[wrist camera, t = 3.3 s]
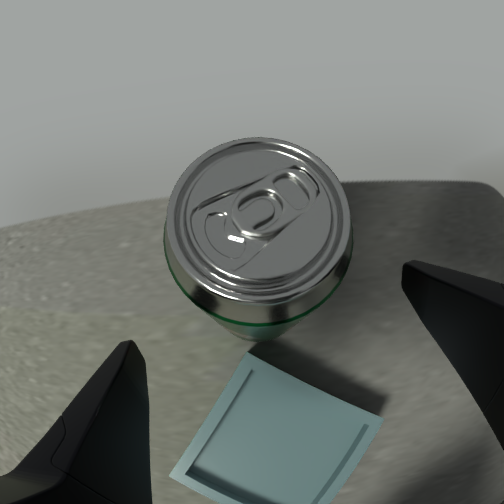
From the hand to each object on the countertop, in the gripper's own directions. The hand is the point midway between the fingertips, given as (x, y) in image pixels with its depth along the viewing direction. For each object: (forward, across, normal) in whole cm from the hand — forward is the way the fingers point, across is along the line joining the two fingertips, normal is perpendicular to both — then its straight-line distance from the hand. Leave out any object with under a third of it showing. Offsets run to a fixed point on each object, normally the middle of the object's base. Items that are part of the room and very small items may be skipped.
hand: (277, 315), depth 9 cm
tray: (+1, +1, +11) cm, 12 cm away
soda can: (+8, 0, +5) cm, 9 cm away
